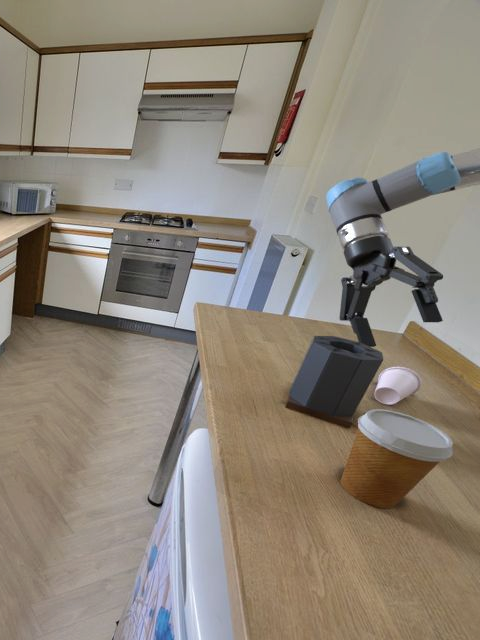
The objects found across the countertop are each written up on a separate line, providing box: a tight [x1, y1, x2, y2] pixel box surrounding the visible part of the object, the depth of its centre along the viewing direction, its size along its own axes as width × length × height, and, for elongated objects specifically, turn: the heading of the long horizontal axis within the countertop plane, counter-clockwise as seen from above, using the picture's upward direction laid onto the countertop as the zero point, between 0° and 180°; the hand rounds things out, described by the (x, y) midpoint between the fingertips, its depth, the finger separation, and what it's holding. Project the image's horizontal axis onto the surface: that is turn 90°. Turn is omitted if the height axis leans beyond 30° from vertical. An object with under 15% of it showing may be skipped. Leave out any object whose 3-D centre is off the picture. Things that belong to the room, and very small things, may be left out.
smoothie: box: [373, 366, 423, 406], centre depth 86 cm, size 6×6×14 cm
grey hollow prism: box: [288, 335, 384, 417], centre depth 79 cm, size 10×10×12 cm
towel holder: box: [284, 349, 354, 430], centre depth 79 cm, size 10×10×12 cm
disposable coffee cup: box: [339, 408, 454, 509], centre depth 59 cm, size 10×10×12 cm
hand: (398, 335), depth 82 cm, fingers open, 13 cm apart
